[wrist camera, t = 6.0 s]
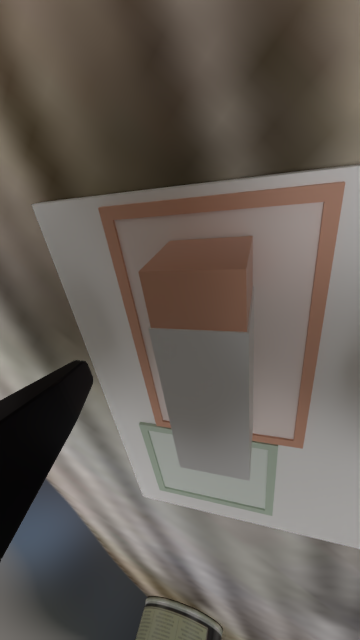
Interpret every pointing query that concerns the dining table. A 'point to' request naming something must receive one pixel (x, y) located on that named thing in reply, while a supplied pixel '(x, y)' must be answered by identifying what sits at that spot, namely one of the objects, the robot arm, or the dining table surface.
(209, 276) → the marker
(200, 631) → the coffee can
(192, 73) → the dining table surface
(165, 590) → the dining table surface
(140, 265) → the sheet
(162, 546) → the dining table surface
